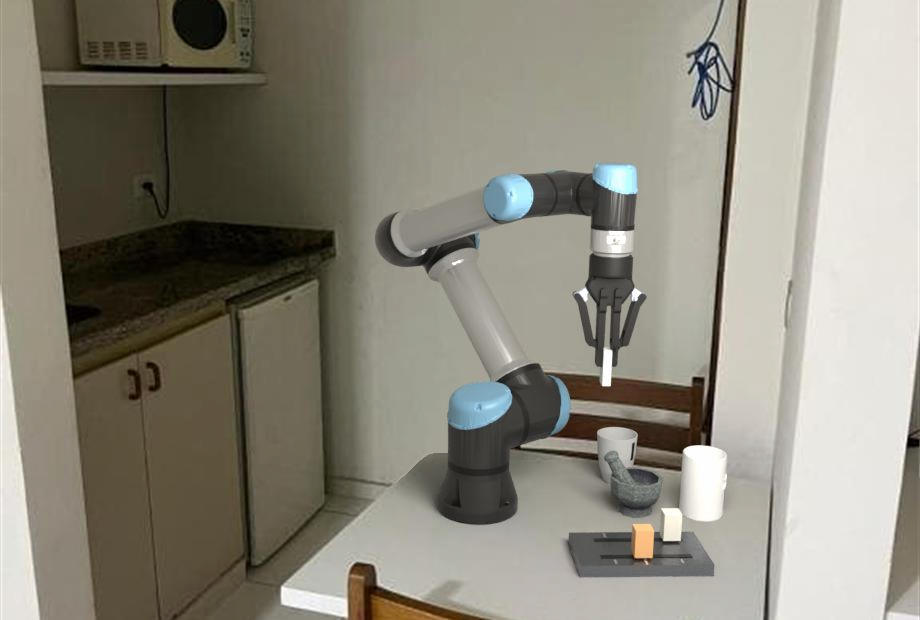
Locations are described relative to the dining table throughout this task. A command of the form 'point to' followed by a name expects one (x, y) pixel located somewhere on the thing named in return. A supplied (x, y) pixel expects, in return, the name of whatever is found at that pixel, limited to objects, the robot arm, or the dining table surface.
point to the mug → (703, 483)
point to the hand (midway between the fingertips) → (605, 383)
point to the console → (615, 558)
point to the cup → (616, 447)
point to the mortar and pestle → (633, 487)
